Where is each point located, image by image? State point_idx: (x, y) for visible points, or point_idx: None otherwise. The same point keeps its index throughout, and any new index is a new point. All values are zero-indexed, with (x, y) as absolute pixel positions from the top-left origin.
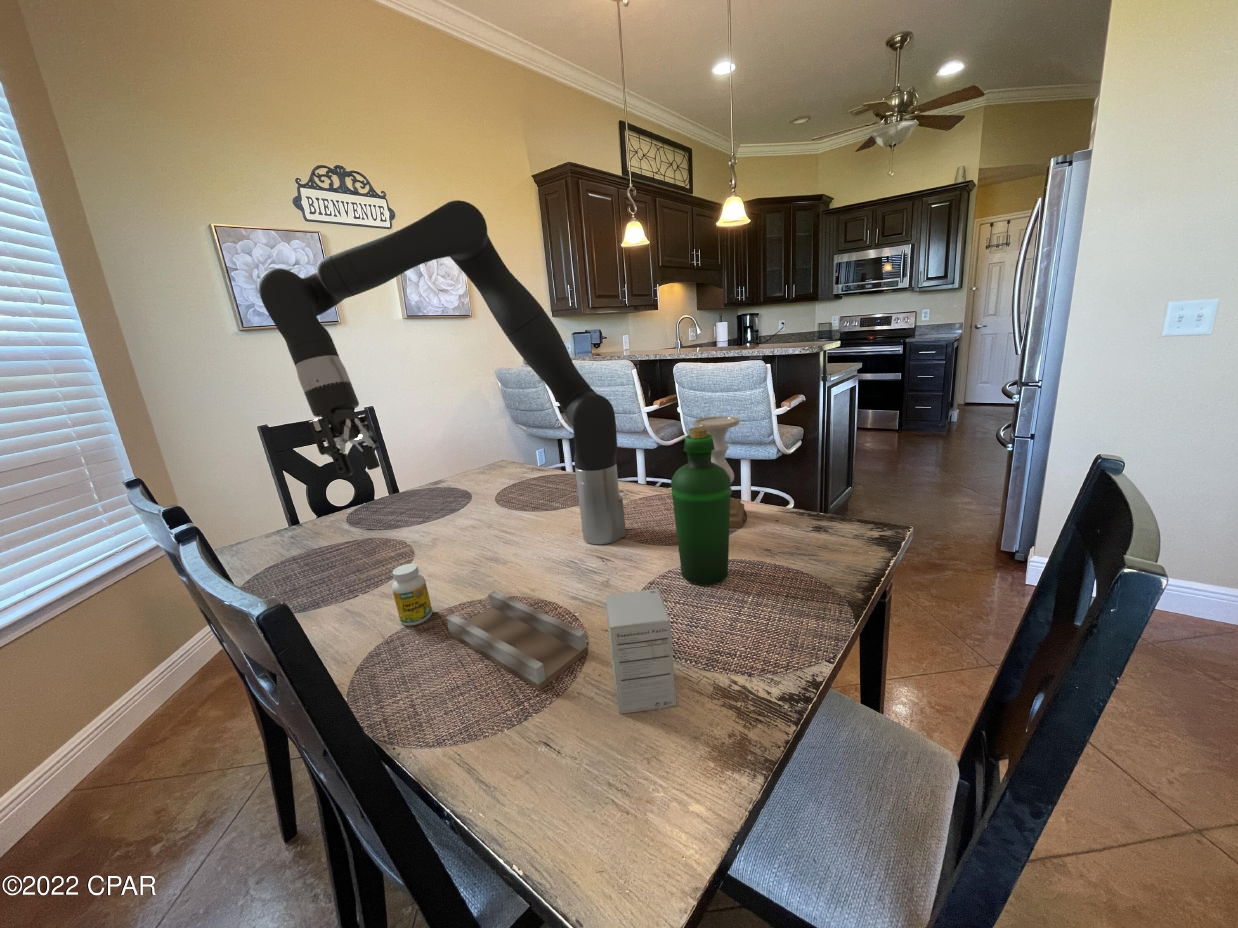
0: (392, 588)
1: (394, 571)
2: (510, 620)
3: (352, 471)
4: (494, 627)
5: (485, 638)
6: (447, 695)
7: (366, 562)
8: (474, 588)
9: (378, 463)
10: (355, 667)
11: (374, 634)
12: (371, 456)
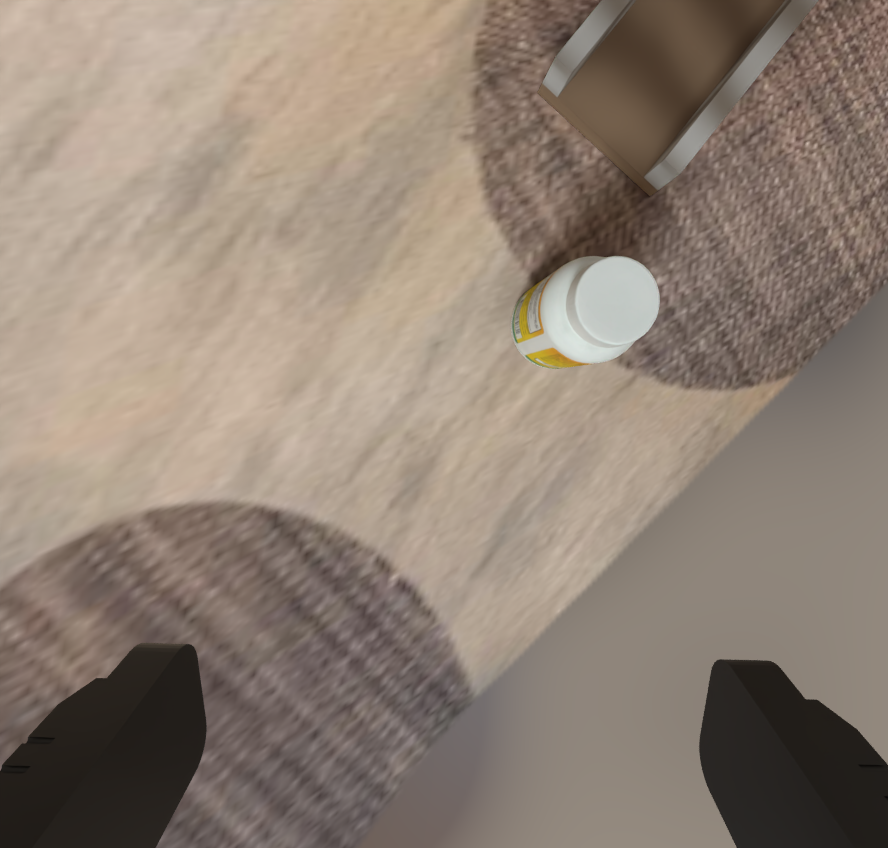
0: (625, 350)
1: (630, 335)
2: (633, 24)
3: (747, 666)
4: (658, 65)
5: (788, 32)
6: (846, 136)
7: None
8: (410, 196)
9: (141, 659)
10: (736, 393)
11: (614, 414)
12: (105, 798)
